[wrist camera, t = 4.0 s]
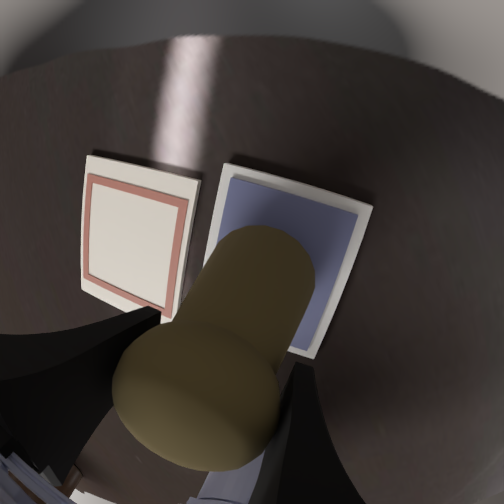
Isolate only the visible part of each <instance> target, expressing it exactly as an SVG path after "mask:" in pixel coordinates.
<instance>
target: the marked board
mask: <svg viewBox="0 0 504 504" xmlns="http://www.w3.org/2000/svg"><path fill="white" fill-rule="evenodd" d="M200 185H201V180H199V179H195V178H191V177H187V176H183V175H179V174H175V173H171V172H166V171H162V170H158V169H154V168H150V167H145V166H141V165H137V164H132V163H128V162H123V161H118V160H114V159H109V158H104V157H99V156H95V155H87V160H86V169H85V179H84V190H83V204H82V223H81V287H82V290H84V291H86V292H87V293H89V294H91V295H93V296H95V297H97V298H99V299H101V300H103V301H105V302H107V303H109V304H111V305H113V306H115V307H117V308H119V309H121V310H123V311H125V312H130V311H133V310H136V309H138V308H142V307H145V306H150V307H153V308H155V309H157V310H159V311H162V313H161V324H162V323H167V322H171V321H172V320H173V318H174V316H175V315H176V313H177V311H178V310H179V308H180V304H181V297H182V290H183V283H184V277H185V270H186V264H187V258H188V251H189V245H190V239H191V234H192V228H193V222H194V217H195V211H196V206H197V201H198V195H199V190H200Z"/></svg>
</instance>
